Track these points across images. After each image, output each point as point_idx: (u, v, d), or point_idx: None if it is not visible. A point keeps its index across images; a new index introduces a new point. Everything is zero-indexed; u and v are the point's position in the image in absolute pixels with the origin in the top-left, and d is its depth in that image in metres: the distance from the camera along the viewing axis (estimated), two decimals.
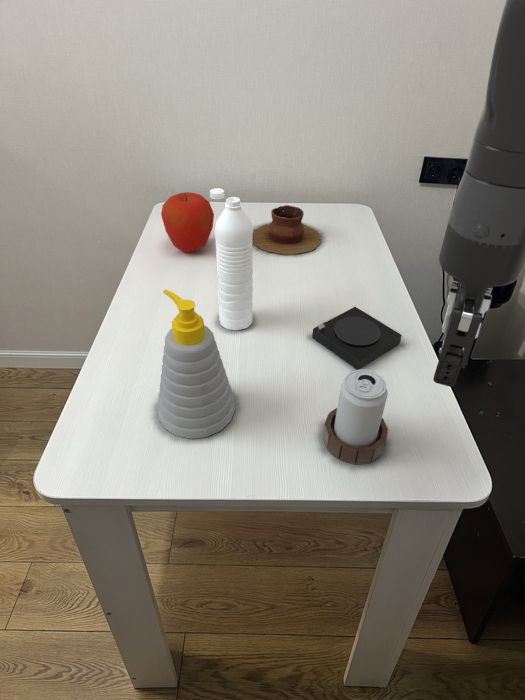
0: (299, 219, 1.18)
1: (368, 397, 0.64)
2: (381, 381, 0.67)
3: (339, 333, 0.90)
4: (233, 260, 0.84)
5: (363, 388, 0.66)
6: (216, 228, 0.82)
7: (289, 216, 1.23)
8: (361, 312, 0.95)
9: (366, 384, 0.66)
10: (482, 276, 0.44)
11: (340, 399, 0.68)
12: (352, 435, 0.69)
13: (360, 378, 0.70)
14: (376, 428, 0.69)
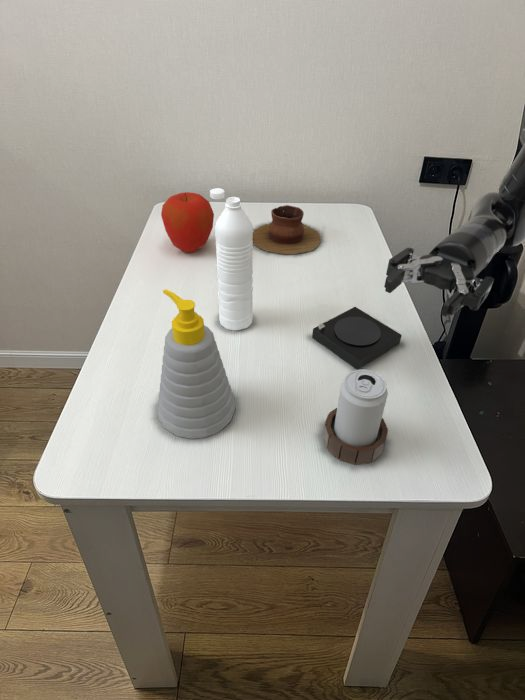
0: (299, 219, 1.18)
1: (368, 397, 0.64)
2: (381, 381, 0.67)
3: (339, 333, 0.90)
4: (233, 260, 0.84)
5: (363, 388, 0.66)
6: (217, 228, 0.82)
7: (289, 216, 1.23)
8: (361, 312, 0.95)
9: (365, 384, 0.66)
10: None
11: (340, 399, 0.68)
12: (352, 435, 0.69)
13: (360, 378, 0.70)
14: (376, 428, 0.69)
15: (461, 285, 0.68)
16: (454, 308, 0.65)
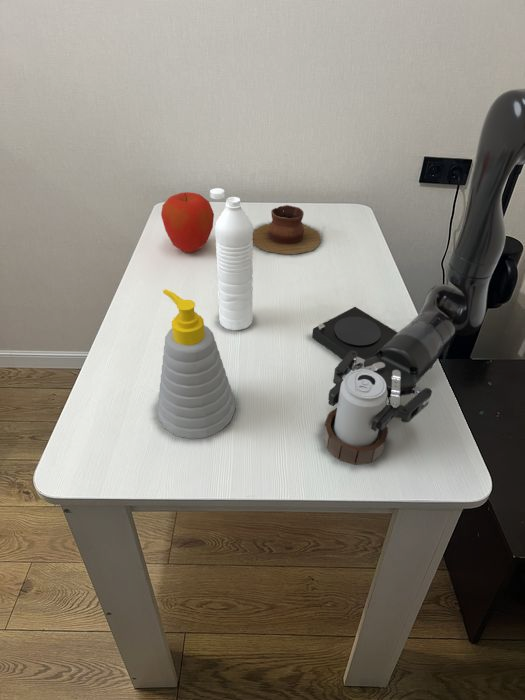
0: (299, 219, 1.18)
1: (368, 397, 0.64)
2: (381, 381, 0.67)
3: (339, 333, 0.90)
4: (233, 260, 0.84)
5: (363, 388, 0.66)
6: (217, 228, 0.82)
7: (289, 216, 1.23)
8: (361, 312, 0.95)
9: (365, 384, 0.66)
10: None
11: (340, 399, 0.68)
12: (352, 435, 0.69)
13: (360, 378, 0.70)
14: None
15: (394, 397, 0.68)
16: (383, 424, 0.66)
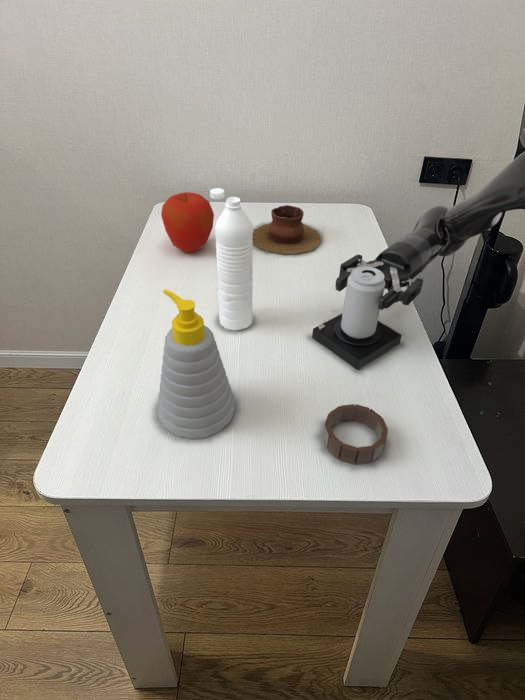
0: (299, 219, 1.18)
1: (369, 283, 0.81)
2: (380, 274, 0.83)
3: (339, 333, 0.90)
4: (233, 260, 0.84)
5: (365, 278, 0.82)
6: (217, 228, 0.82)
7: (289, 216, 1.23)
8: None
9: (368, 275, 0.83)
10: None
11: (347, 289, 0.84)
12: (356, 320, 0.85)
13: None
14: (376, 314, 0.85)
15: (395, 285, 0.84)
16: (388, 303, 0.81)
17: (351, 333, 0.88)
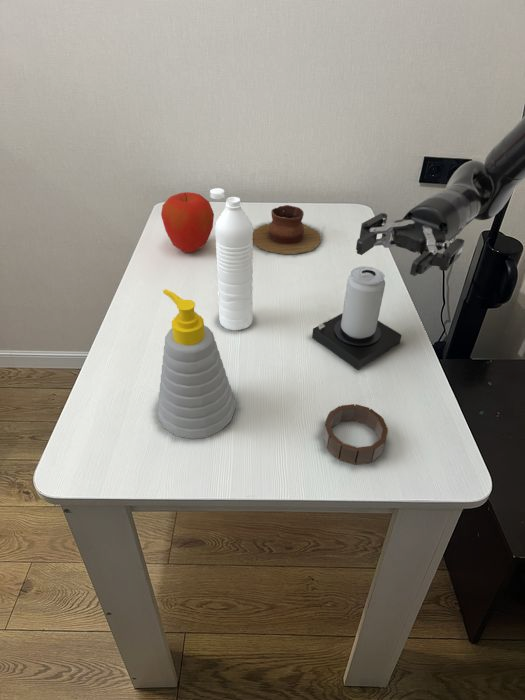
0: (299, 219, 1.18)
1: (369, 283, 0.81)
2: (380, 274, 0.83)
3: (339, 333, 0.90)
4: (233, 260, 0.84)
5: (365, 278, 0.82)
6: (217, 228, 0.82)
7: (289, 216, 1.23)
8: None
9: (368, 275, 0.83)
10: None
11: (347, 289, 0.84)
12: (356, 320, 0.85)
13: None
14: (376, 314, 0.85)
15: (431, 246, 0.68)
16: (423, 267, 0.66)
17: (351, 333, 0.88)
